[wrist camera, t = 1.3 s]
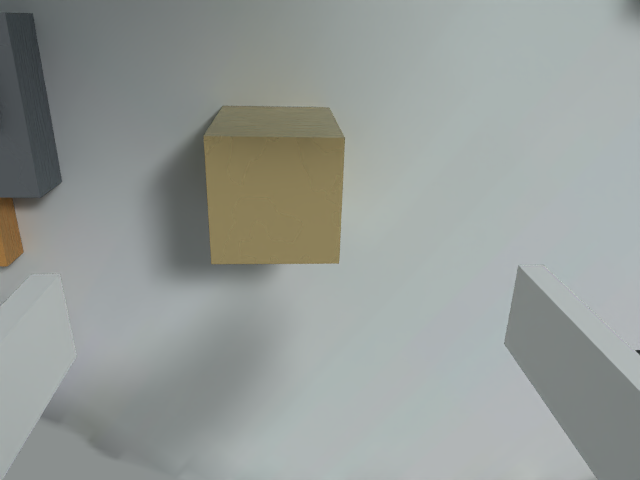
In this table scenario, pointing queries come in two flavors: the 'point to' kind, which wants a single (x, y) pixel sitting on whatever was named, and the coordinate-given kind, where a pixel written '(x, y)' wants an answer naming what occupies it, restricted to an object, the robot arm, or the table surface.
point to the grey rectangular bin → (22, 128)
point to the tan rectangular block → (274, 185)
